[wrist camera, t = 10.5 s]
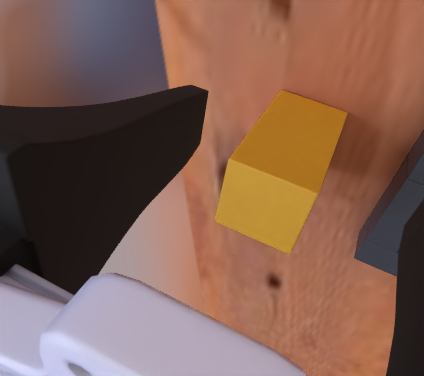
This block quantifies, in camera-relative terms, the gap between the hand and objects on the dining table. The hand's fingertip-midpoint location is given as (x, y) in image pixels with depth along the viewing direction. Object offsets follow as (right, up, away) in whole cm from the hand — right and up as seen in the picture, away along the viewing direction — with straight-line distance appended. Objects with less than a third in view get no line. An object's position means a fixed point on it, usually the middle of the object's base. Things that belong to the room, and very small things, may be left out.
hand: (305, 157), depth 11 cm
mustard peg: (+3, +3, +11) cm, 12 cm away
